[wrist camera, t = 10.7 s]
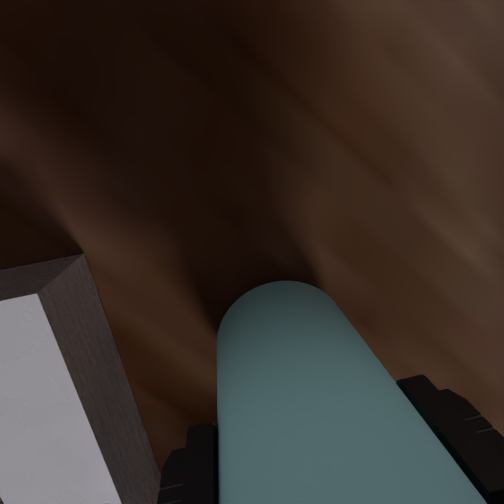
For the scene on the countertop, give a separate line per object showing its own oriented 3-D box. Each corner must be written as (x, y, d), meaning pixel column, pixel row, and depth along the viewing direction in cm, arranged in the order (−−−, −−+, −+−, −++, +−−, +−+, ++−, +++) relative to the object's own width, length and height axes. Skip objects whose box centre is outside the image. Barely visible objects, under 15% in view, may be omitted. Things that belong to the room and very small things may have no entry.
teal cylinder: (338, 268, 14) (602, 532, 4) (351, 381, 16) (564, 751, 6) (203, 296, 14) (179, 638, 4) (230, 408, 15) (257, 835, 6)
